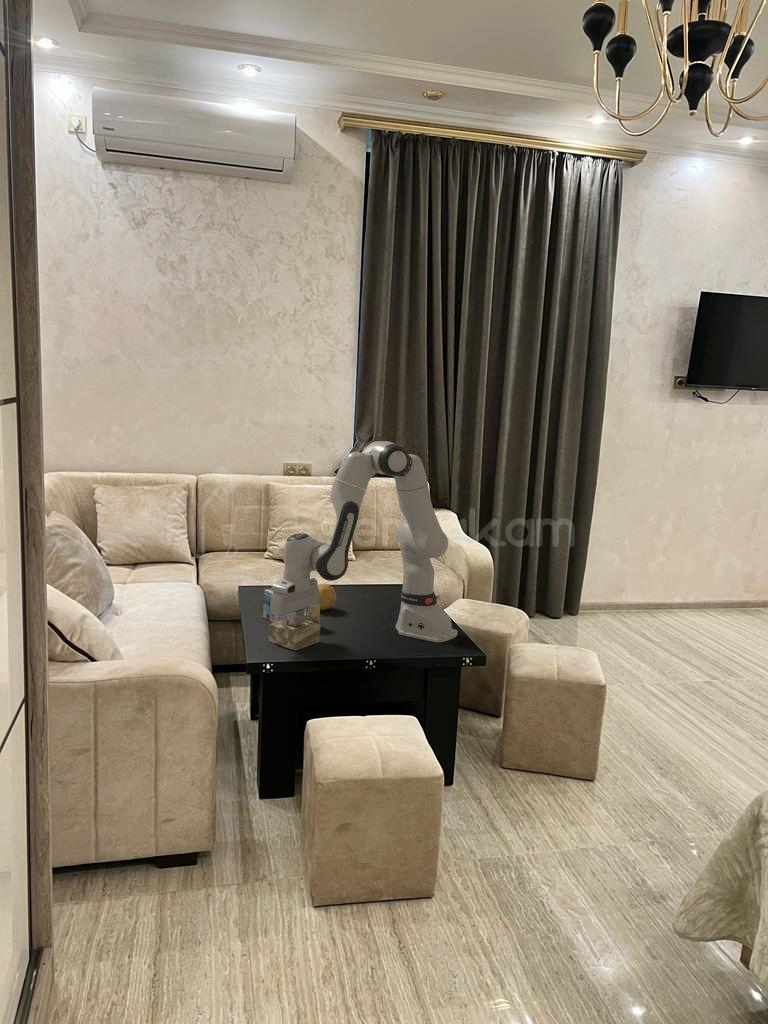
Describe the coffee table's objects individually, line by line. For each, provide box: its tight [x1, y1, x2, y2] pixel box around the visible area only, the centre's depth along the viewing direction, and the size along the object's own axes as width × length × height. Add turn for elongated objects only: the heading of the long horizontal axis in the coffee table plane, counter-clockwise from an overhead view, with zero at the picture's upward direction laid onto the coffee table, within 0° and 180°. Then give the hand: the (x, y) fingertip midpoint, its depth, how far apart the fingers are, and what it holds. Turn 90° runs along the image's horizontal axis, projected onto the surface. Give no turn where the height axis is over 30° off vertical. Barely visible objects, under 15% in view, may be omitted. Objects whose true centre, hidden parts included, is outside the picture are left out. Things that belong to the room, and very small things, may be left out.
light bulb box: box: [263, 588, 287, 624], centre depth 273 cm, size 11×7×11 cm, turn 40°
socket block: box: [268, 620, 321, 651], centre depth 253 cm, size 12×12×6 cm
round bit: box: [307, 604, 321, 624], centre depth 269 cm, size 6×6×8 cm
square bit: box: [287, 609, 304, 628], centre depth 253 cm, size 4×4×10 cm
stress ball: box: [318, 583, 337, 611], centre depth 289 cm, size 10×10×10 cm
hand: (295, 622), depth 253 cm, fingers open, 8 cm apart
